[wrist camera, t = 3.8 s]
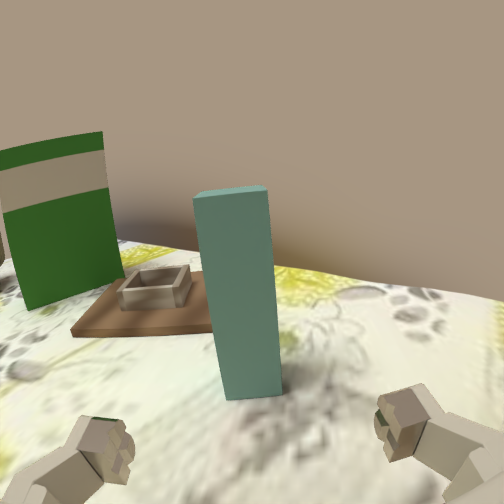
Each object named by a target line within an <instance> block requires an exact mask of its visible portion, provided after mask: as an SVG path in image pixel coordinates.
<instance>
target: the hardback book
mask: <svg viewBox="0 0 504 504" xmlns="http://www.w3.org/2000/svg"><path fill="white" fill-rule="evenodd" d="M0 199H1V206H2V212H3V218H4V223H5V228H6V234H7V238H8V243H9V247H10V252H11V256H12V260H13V264H14V268H15V271H16V275H17V278H18V282H19V285H20V289H21V292H22V295H23V298H24V301H25V304H26V307H27V310H28V311H31V310H33V309H36V308H39V307H42V306H45V305H48V304H51V303H54V302H57V301H60V300H62V299H65V298H68V297H71V296H74V295H77V294H80V293H83V292H86V291H89V290H92V289H95V288H98V287H101V286H104V285H107V284H110V283H113V282H114V281H115V280H116V279H121V278H125V275H124V271H123V266H122V262H121V257H120V252H119V247H118V242H117V237H116V232H115V226H114V220H113V214H112V208H111V202H110V195H109V188H108V180H107V173H106V164H105V156H104V145H103V132H102V131H101V132H93V133H86V134H80V135H73V136H67V137H61V138H55V139H50V140H45V141H40V142H35V143H31V144H26V145H21V146H18V147H13V148H9V149H5V150H1V151H0Z"/></svg>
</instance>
